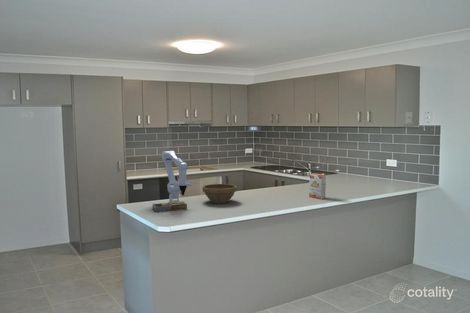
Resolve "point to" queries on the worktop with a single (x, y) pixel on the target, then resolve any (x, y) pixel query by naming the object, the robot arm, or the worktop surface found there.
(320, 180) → the cracker box
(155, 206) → the charcoal tray
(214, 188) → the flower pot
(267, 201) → the worktop surface
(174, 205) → the walnut board
